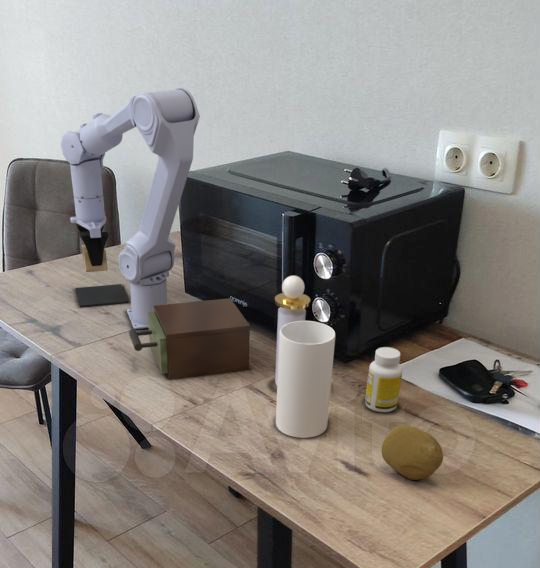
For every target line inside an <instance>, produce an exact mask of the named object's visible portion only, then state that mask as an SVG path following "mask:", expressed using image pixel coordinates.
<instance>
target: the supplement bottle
mask: <svg viewBox="0 0 540 568" xmlns="http://www.w3.org/2000/svg"><path fill="white" fill-rule="evenodd" d="M400 361H401V352H400V351H399V349H396V348H394V347H389V346H383V347H382V346H381V347H378V348H377V349H376V350H375V354H374V360H373V361H371V363H370V364H369V367H368V374H367V383H366V389H365V398H364V402H365V406H366V407H367V408H368V409H370V410H372V411H374V412H377V413H390V412H392V411H394V410H396V408H397V407H398V403H399V396H400V390H401V384H402V377H403V366H402V365H401V364H400Z"/></svg>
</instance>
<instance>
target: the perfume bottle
mask: <svg viewBox="0 0 540 568" xmlns="http://www.w3.org/2000/svg"><path fill="white" fill-rule="evenodd" d="M281 290H282V293H278V294H276V295H275V296H274V304H275V306H277V307H278V309H277V315H275V316H274V318H273V319H274V320H273V329H274V330H273V332H274V333H275V329H276V351H275V373H274V374H275V375H274V379H275V380H274V383H275V385H276V386H277V382H278V359H279V338H280V329H281V328H282V327H283V326H284V325H286V324H288V323H291V322H295V321H306V318H307V317H306V316H307V310H306V308H308V307H309V306H310V305H311V298H310V296H308V295H307V294H304V292H305V282H304V280H303V279H302V278H301V277H300V276H298V275H289V276H287V277H286V278H285V279H284V280H283V282H282V284H281ZM276 327H277V328H276Z"/></svg>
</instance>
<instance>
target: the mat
mask: <svg viewBox="0 0 540 568" xmlns="http://www.w3.org/2000/svg"><path fill="white" fill-rule="evenodd" d="M74 290H75V293H76V296H77V300H78V304H79V307H80V308H85V307H86V308H87V307H96V306H97V307H98V306H99V307H100V306H108V305H118V304H120V305H121V304H128V303H129V300H128V298H127V295H126V293H125V291H124V288H123V286H122V284H121V283H119V284H118V283H117V284H107V285H95V286H84V287H82V286H81V287H75V289H74Z"/></svg>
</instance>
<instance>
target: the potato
mask: <svg viewBox="0 0 540 568" xmlns="http://www.w3.org/2000/svg"><path fill="white" fill-rule="evenodd" d="M381 457H382V459H383V460H384V462H385V463H386V464H387V465H388V466H389V467H390V468H392V469H393V470H394V471H396V472H397V473H399V474H400V475H402V476H403V477H405V478H406V479H408V480H411V481H412V480H414V481H416V480H423V479H427V478H429V477H431V476H432V475H433V474H434V473H435V472H436V471H437V470H438V469H439V468H440V467H441V465H442V464H443V461H444V453H443V449H442V446H441V445H440V442H439V441H438V440H437V439H436V438H435V437H434V436H432V434H429V433H428V432H426V431H424V430H422V429H419V428H417V427H413V426H409V425H408V426H407V425H397V426H395V427H393V428H392V429H391V430H390V431H389V432H388V434H387V435H386V436H385V438H384V439H383V442H382V445H381Z"/></svg>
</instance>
